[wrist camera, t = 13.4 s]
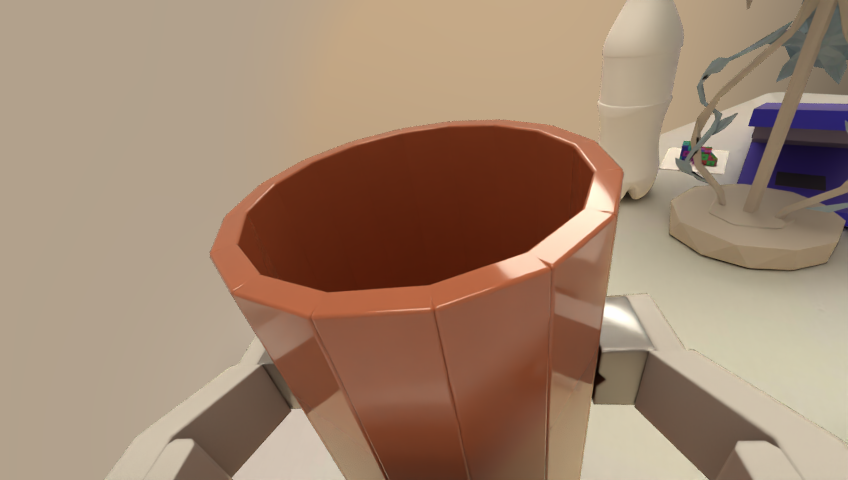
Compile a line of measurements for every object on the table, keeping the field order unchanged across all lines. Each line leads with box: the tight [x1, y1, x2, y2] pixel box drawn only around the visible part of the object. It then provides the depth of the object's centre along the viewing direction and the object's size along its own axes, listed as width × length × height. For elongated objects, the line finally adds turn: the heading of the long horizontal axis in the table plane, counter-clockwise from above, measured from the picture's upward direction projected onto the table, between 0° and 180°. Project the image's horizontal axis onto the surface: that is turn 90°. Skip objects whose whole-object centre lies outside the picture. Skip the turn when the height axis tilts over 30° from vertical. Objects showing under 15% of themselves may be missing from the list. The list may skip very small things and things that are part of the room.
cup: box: [210, 120, 624, 480], centre depth 9 cm, size 6×6×10 cm
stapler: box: [737, 103, 848, 226], centre depth 41 cm, size 12×28×10 cm, turn 139°
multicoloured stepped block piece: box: [678, 141, 719, 167], centre depth 48 cm, size 4×3×2 cm, turn 52°
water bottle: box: [597, 0, 684, 199], centre depth 39 cm, size 7×7×25 cm
